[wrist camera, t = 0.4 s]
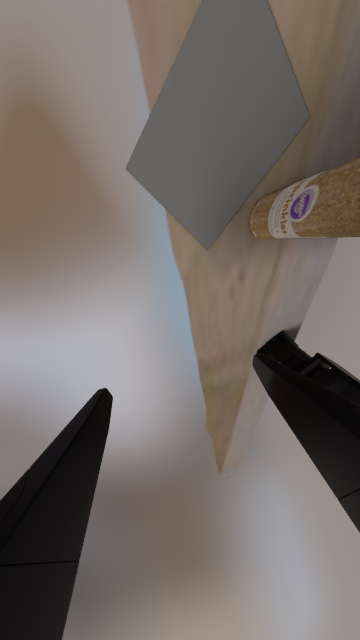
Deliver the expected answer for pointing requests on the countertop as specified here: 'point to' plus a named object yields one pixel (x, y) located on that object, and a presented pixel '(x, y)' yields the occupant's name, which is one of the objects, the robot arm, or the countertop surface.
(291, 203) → the sprinkles bottle
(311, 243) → the countertop surface
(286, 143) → the mat
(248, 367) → the countertop surface
